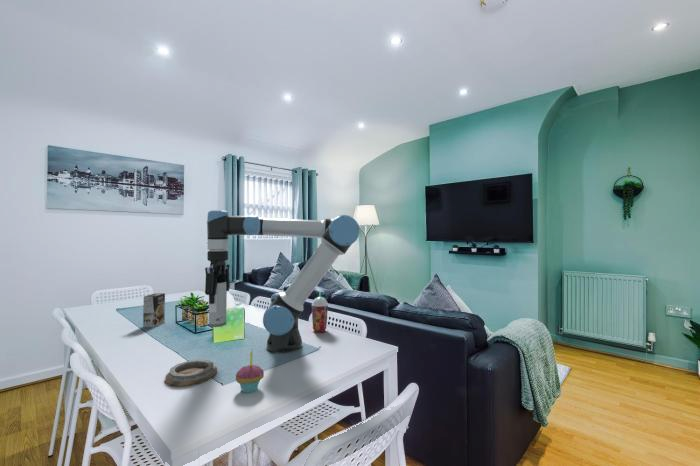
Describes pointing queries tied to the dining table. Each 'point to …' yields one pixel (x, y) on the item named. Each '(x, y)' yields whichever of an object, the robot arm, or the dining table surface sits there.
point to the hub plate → (191, 373)
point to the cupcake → (249, 376)
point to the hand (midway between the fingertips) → (218, 309)
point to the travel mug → (219, 304)
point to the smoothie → (319, 314)
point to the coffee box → (154, 310)
